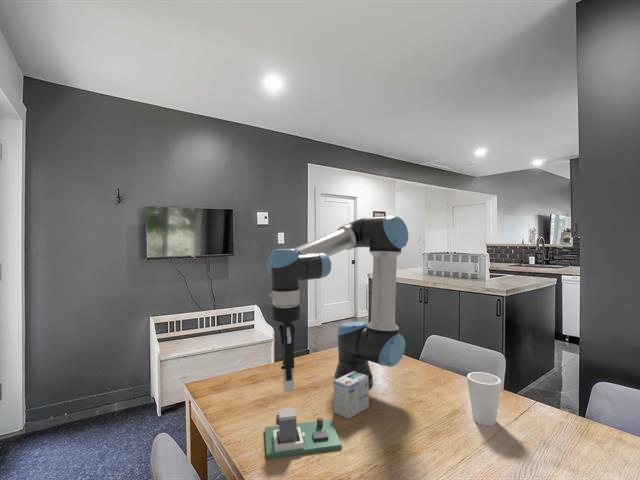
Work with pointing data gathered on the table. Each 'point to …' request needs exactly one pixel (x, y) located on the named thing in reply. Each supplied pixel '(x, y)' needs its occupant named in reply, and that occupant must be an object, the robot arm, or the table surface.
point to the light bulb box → (351, 394)
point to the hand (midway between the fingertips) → (288, 390)
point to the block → (287, 425)
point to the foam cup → (484, 396)
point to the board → (303, 439)
